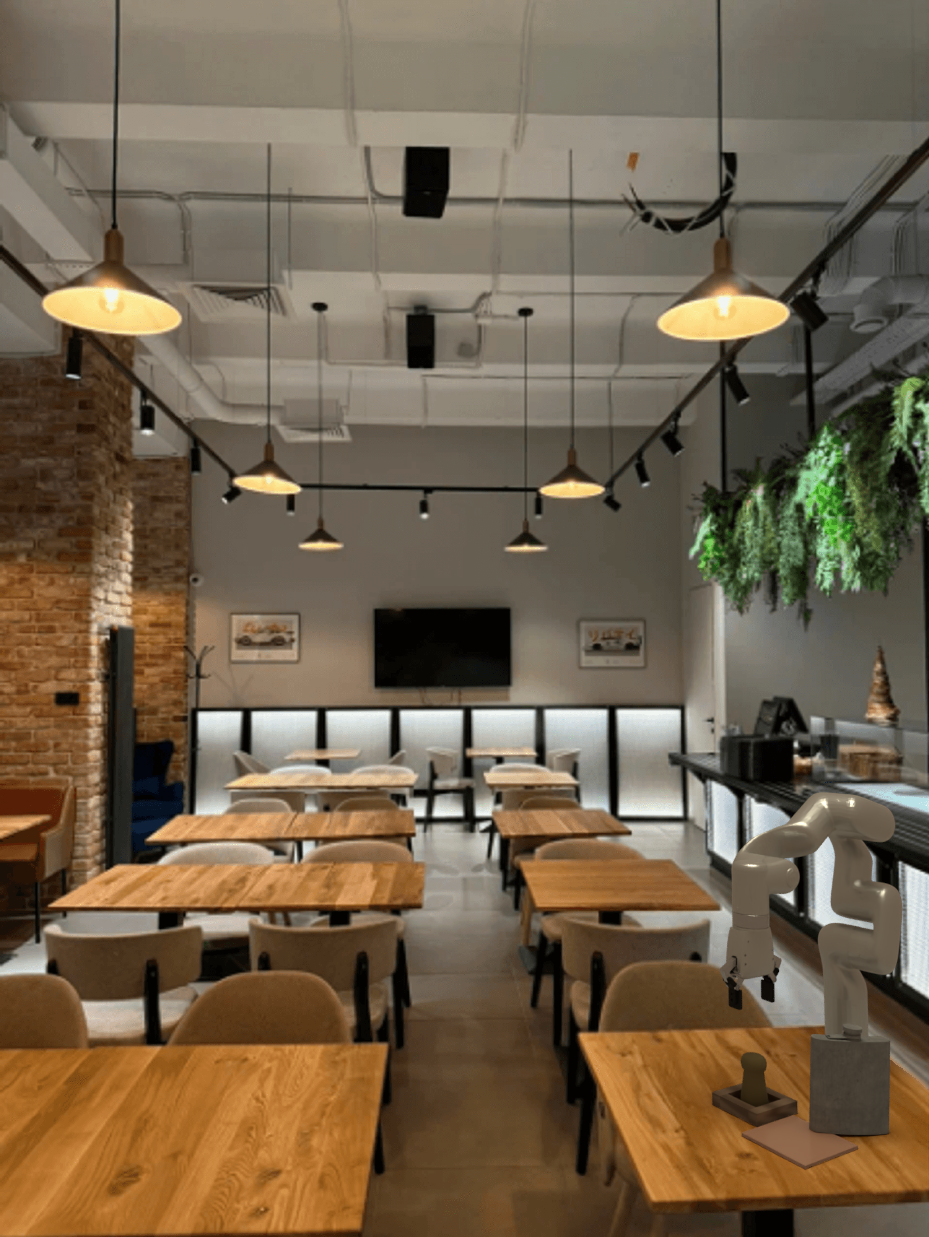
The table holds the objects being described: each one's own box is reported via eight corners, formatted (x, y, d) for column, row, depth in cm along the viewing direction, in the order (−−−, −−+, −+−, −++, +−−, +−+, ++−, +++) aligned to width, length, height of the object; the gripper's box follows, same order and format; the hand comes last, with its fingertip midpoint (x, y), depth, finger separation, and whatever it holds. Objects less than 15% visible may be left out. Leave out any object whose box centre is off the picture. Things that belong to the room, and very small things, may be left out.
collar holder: (752, 1092, 203) (751, 1080, 203) (797, 1113, 193) (797, 1100, 193) (712, 1104, 197) (712, 1092, 197) (757, 1127, 186) (756, 1114, 187)
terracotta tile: (793, 1118, 190) (793, 1114, 191) (858, 1148, 178) (858, 1145, 178) (741, 1135, 183) (741, 1132, 183) (805, 1169, 170) (805, 1165, 170)
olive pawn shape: (771, 1116, 191) (770, 1060, 192) (740, 1113, 192) (739, 1058, 193) (768, 1104, 197) (766, 1049, 198) (738, 1101, 198) (737, 1047, 199)
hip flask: (883, 1126, 187) (885, 1023, 189) (894, 1136, 183) (895, 1030, 185) (806, 1124, 186) (808, 1020, 188) (815, 1134, 182) (817, 1027, 184)
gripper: (764, 912, 205) (766, 993, 204) (707, 921, 196) (708, 1005, 195) (792, 919, 199) (794, 1003, 197) (735, 929, 190) (736, 1016, 188)
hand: (751, 1004), depth 196 cm, fingers open, 9 cm apart
